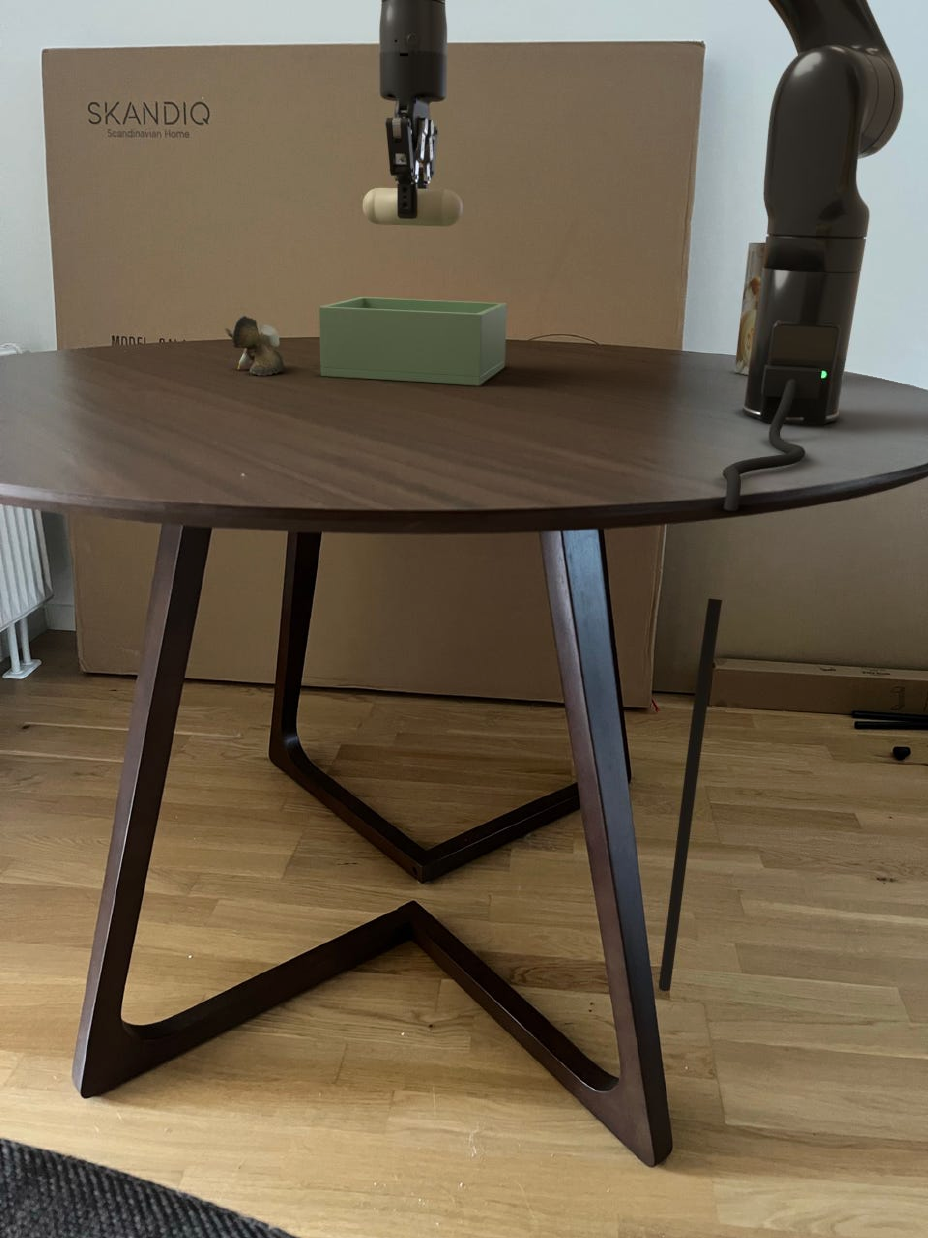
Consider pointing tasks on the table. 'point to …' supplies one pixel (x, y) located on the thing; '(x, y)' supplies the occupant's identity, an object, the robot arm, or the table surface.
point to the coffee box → (749, 306)
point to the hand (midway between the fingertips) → (412, 217)
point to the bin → (413, 340)
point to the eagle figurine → (257, 346)
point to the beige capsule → (431, 207)
